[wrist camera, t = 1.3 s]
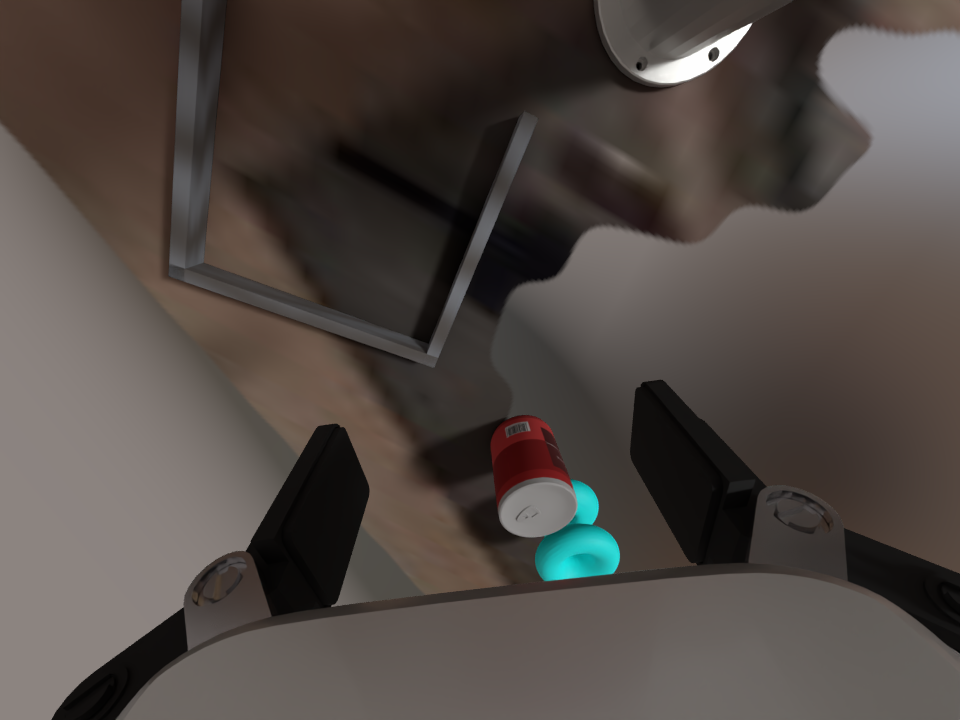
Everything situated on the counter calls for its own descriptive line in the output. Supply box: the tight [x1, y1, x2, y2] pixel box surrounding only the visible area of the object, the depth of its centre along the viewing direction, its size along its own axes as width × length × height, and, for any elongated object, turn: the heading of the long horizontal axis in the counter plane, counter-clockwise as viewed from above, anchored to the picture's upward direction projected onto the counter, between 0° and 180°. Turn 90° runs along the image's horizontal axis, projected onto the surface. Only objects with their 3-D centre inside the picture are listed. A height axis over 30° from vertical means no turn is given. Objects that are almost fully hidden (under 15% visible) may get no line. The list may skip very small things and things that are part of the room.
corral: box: [169, 0, 539, 368], centre depth 30 cm, size 23×24×2 cm
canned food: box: [490, 415, 578, 537], centre depth 39 cm, size 8×8×11 cm
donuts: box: [535, 479, 620, 581], centre depth 45 cm, size 10×10×10 cm
